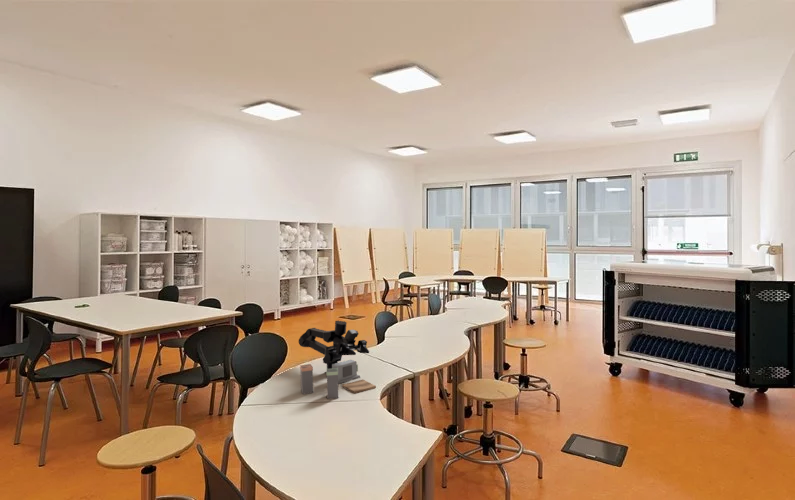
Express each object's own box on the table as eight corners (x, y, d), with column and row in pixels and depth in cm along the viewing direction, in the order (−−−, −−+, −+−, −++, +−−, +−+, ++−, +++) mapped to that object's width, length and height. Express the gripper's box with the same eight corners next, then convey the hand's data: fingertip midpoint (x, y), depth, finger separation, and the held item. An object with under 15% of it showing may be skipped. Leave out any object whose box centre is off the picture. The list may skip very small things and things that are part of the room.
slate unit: (329, 380, 228) (328, 364, 228) (351, 374, 237) (350, 358, 237) (337, 384, 222) (337, 367, 222) (360, 377, 231) (359, 361, 231)
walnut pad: (342, 386, 219) (342, 384, 218) (363, 381, 226) (363, 379, 225) (354, 393, 209) (354, 391, 209) (375, 387, 216) (375, 385, 216)
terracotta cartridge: (300, 390, 214) (299, 365, 213) (311, 389, 216) (310, 364, 215) (302, 394, 209) (301, 368, 209) (313, 392, 211) (312, 367, 210)
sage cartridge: (327, 394, 208) (326, 368, 207) (338, 394, 209) (337, 368, 208) (327, 399, 203) (326, 372, 202) (338, 398, 204) (337, 371, 203)
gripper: (332, 328, 225) (351, 339, 214) (358, 326, 239) (378, 336, 228) (327, 349, 226) (347, 360, 215) (354, 346, 239) (374, 357, 229)
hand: (362, 353), depth 222 cm, fingers open, 9 cm apart
